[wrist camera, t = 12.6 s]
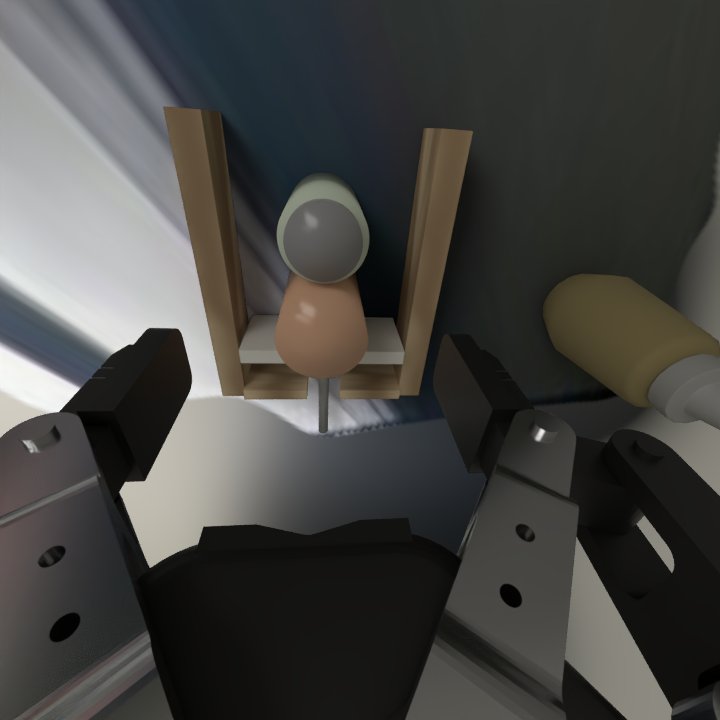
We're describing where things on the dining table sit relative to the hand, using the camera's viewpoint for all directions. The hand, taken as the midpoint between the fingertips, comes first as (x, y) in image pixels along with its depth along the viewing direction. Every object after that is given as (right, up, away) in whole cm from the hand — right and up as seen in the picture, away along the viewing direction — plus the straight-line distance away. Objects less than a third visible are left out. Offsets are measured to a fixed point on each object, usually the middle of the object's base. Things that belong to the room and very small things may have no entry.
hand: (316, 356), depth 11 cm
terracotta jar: (-2, +7, +20) cm, 21 cm away
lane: (-2, +8, +19) cm, 20 cm away
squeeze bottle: (+22, +6, +23) cm, 32 cm away
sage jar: (-1, +12, +16) cm, 20 cm away
